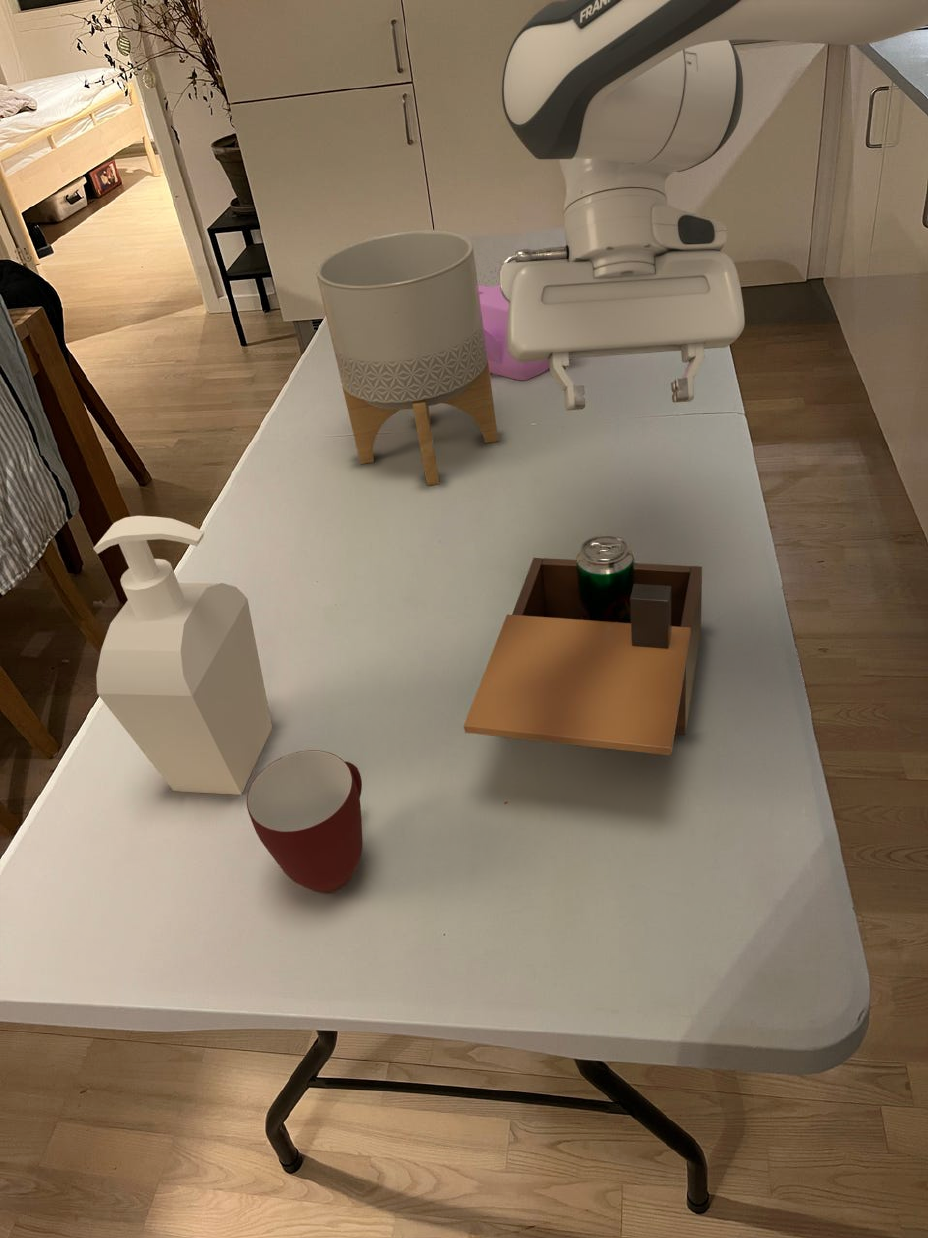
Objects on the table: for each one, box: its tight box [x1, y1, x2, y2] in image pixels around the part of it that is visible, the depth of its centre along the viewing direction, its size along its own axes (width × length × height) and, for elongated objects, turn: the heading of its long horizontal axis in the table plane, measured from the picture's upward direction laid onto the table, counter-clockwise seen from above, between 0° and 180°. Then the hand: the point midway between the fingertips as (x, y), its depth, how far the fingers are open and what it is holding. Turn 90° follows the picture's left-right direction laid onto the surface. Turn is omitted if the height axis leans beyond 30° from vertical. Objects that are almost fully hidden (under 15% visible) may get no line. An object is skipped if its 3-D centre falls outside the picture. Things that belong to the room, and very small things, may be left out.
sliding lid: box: [463, 584, 691, 756], centre depth 77 cm, size 16×14×6 cm
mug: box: [246, 749, 363, 894], centre depth 75 cm, size 11×8×10 cm
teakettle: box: [478, 283, 550, 382], centre depth 145 cm, size 17×17×12 cm
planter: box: [315, 229, 499, 487], centre depth 122 cm, size 19×19×26 cm
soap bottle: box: [92, 515, 273, 796], centre depth 81 cm, size 12×10×26 cm
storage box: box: [511, 557, 703, 736], centre depth 89 cm, size 16×14×8 cm
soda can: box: [575, 534, 635, 623], centre depth 88 cm, size 5×5×12 cm
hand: (629, 405), depth 84 cm, fingers open, 8 cm apart
